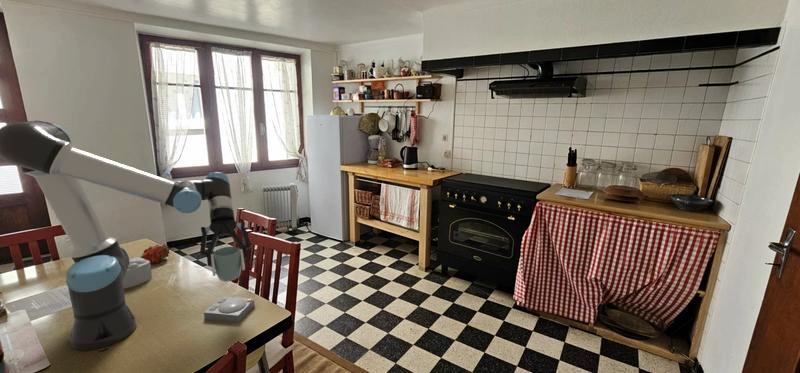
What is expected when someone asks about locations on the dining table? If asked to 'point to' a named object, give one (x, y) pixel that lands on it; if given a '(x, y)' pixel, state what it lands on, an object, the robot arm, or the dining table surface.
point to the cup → (227, 263)
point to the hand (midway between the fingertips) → (229, 271)
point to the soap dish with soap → (229, 309)
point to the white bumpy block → (137, 272)
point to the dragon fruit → (156, 253)
